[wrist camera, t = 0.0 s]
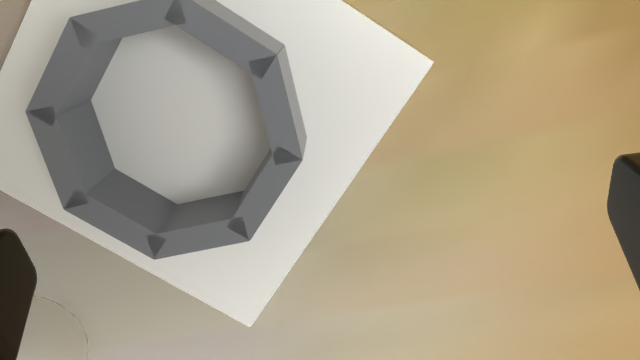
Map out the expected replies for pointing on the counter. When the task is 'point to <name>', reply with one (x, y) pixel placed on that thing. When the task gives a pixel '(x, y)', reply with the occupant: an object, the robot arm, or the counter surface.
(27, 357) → the canister
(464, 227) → the counter surface
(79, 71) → the collar
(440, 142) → the counter surface
